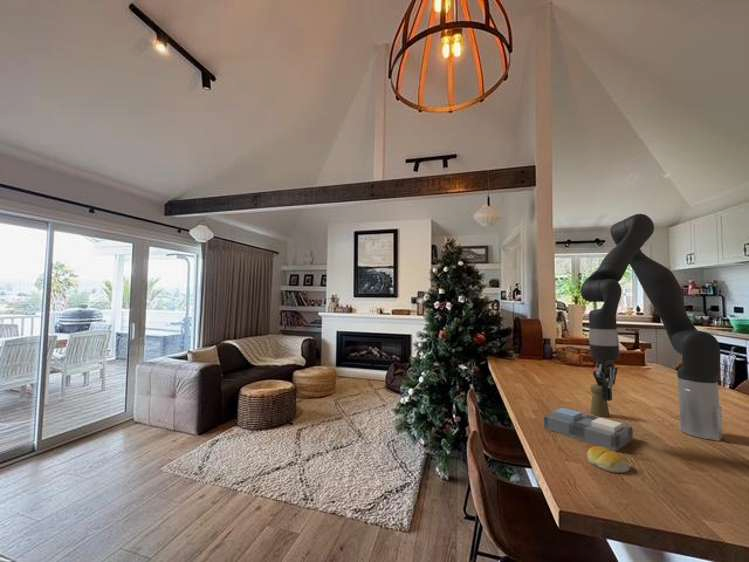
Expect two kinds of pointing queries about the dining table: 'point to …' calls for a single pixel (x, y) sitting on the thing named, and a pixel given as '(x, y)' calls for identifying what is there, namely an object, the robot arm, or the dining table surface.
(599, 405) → the cork
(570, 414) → the slate-blue key
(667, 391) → the dining table surface
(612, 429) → the ivory key
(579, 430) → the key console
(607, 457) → the bread roll
